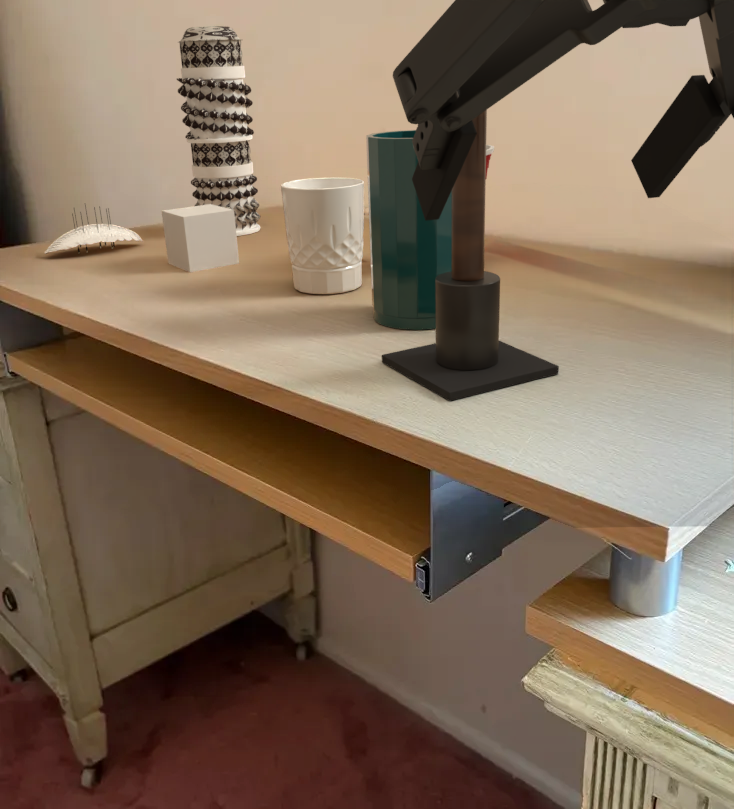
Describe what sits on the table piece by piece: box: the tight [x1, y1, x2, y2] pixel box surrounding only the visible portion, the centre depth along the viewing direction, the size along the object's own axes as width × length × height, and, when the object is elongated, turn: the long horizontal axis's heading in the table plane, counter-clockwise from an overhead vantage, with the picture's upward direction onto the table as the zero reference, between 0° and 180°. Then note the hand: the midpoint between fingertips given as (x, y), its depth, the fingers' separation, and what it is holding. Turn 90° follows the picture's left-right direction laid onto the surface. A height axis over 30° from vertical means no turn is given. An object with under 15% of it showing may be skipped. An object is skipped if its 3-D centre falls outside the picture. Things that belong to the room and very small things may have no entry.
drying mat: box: [381, 340, 560, 402], centre depth 59 cm, size 9×9×1 cm
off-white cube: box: [160, 204, 240, 273], centre depth 93 cm, size 6×6×6 cm
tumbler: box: [365, 129, 452, 331], centre depth 69 cm, size 8×8×15 cm
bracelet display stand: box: [176, 25, 261, 237], centre depth 107 cm, size 9×9×25 cm
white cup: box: [280, 176, 365, 295], centre depth 80 cm, size 8×8×10 cm
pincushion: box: [43, 204, 144, 254], centre depth 101 cm, size 12×6×6 cm, turn 122°
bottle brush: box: [435, 109, 501, 371], centre depth 55 cm, size 4×4×21 cm
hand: (539, 188), depth 46 cm, fingers open, 13 cm apart
